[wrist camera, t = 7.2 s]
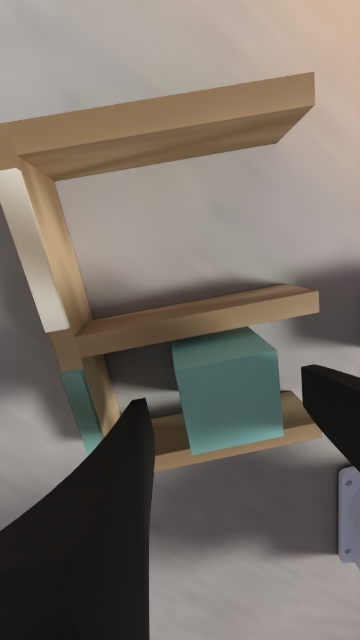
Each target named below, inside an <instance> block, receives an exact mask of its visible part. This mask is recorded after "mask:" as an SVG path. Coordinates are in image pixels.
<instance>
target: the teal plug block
mask: <svg viewBox="0 0 360 640" xmlns="http://www.w3.org/2000/svg"><path fill="white" fill-rule="evenodd" d="M171 344H172V353H173V362H174V371H175V376H176V380H177V385H178V390H179V395H180V400H181V405H182V410H183V414H184V419H185V424H186V429H187V434H188V439H189V444H190V448H191V453H192V455H196V454H200V453H205V452H210V451H215V450H220V449H224V448H229V447H234V446H239V445H244V444H248V443H253V442H258V441H263V440H267V439H272V438H277V437H282V436H284V432H283V419H282V406H281V394H280V381H279V368H278V355H277V350H276V349H275V348H274V347H272V346H271V345H270V344H269V343H267V342H266V341H265V340H264V339H262V338H261V337H260V336H259V335H257V334H256V333H255V332H254V331H252V330H251V329H250V328H249V327H247V326H245V327H240V328H235V329H230V330H225V331H219V332H214V333H209V334H204V335H199V336H193V337H188V338H183V339H178V340H173V341H171Z"/></svg>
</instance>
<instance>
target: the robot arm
mask: <svg viewBox="0 0 360 640" xmlns="http://www.w3.org/2000/svg"><path fill="white" fill-rule="evenodd" d="M301 377H302V398H303V407H304V408H305V410H306V411H307V413H308V414H309V415H310V417H311V418H312V420H313V421H314V422H315V424H316V425H317V426H318V427H319V429H320V430H321V431H322V432H323V433H324V434H325V435H326V436H327V437H328V439H329V440H330V441H331V442H332V443H333V444H334V445H335V446H336V447H337V448H338V450H339V451H340V452H341V453H342V454H343V455H344V456H345V457H346V458H347V459H348V460H349V462H350V463H351V464H352V465H353V467H348V468H344V469H342V470H341V471H340V472H339V558H340V560H341V562H342V563H344V564H349V563H353V562H355V564H356V565H357V567H358V568H359V570H360V378H359V377H356V376H353V375H350V374H346V373H343V372H340V371H337V370H334V369H330V368H327V367H323V366H319V365H309V366H304V367H301ZM154 466H155V435H154V431H153V427H152V423H151V419H150V415H149V410H148V406H147V402H146V398H141V399H136V400H132V401H131V402H130V404H129V405H128V406H127V408H126V409H125V411H124V412H123V413H122V415H121V416H120V418H119V419H118V420H117V422H116V423H115V424H114V426H113V427H112V428H111V430H110V431H109V432H108V433H107V435H106V436H105V437H104V438H103V439H102V441H101V442H100V443H99V444H98V445H97V447H96V448H95V449H94V450H93V451H92V452H91V454H90V455H89V456H88V457H87V458H86V459H85V460H84V461H83V462H82V463H81V464H80V465H79V466H78V467H77V468H76V469H75V470H74V471H73V472H72V473H71V474H70V475H69V476H68V477H66V478H65V479H64V480H63V481H62V482H61V483H60V484H59V485H57V486H56V487H55V488H54V489H53V490H52V491H51V492H50V493H49V494H47V495H46V496H45V497H44V498H43V499H41V500H40V501H39V502H38V503H36V504H35V505H34V506H33V507H32V508H30V509H29V510H28V511H26V512H25V513H24V514H22V515H21V516H20V517H19V518H17V519H16V520H15V521H13V522H12V523H11V524H9V525H8V526H7V527H5V528H4V529H2V530H1V531H0V640H149V523H150V509H151V499H152V488H153V477H154Z"/></svg>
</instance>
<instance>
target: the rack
mask: <svg viewBox="0 0 360 640" xmlns="http://www.w3.org/2000/svg"><path fill="white" fill-rule="evenodd" d="M314 105H315V85H314V72H310V73H304V74H298V75H292V76H286V77H279V78H273V79H267V80H261V81H255V82H249V83H243V84H237V85H231V86H225V87H219V88H213V89H207V90H201V91H195V92H189V93H183V94H176V95H170V96H164V97H158V98H152V99H146V100H140V101H134V102H128V103H122V104H116V105H110V106H104V107H98V108H92V109H86V110H80V111H73V112H67V113H61V114H55V115H49V116H43V117H37V118H31V119H25V120H19V121H13V122H7V123H1V124H0V203H1V206H2V208H3V211H4V214H5V217H6V220H7V223H8V226H9V229H10V232H11V235H12V237H13V240H14V243H15V246H16V249H17V252H18V255H19V258H20V261H21V263H22V266H23V269H24V272H25V275H26V278H27V281H28V284H29V287H30V290H31V292H32V295H33V298H34V301H35V304H36V307H37V310H38V313H39V316H40V319H41V321H42V324H43V327H44V330H45V333H47V332H48V334H49V336H50V339H51V342H52V345H53V348H54V351H55V354H56V357H57V360H58V363H59V366H60V369H61V372H62V374H61V375H60V376H61V379H62V382H63V385H64V388H65V391H66V394H67V397H68V400H69V403H70V405H71V408H72V411H73V414H74V417H75V420H76V423H77V426H78V429H79V432H80V434H81V437H82V440H83V443H84V446H85V449H86V452H87V455H88V456H89V455H90V454H91V452H92V451H93V450H94V449H95V448H96V447H97V445H98V444H99V443H100V442H101V441H102V439H103V438H104V437H105V436H106V435H107V433H108V432H109V431H110V430H111V428H112V427H113V426H114V424H115V423H116V422H117V420H118V419H119V418H120V416H121V415H120V412H119V408H118V405H117V401H116V398H115V394H114V391H113V387H112V384H111V380H110V376H109V373H108V369H107V366H106V362H105V359H104V355H103V354H105V353H111V352H116V351H121V350H126V349H131V348H136V347H142V346H147V345H152V344H157V343H162V342H168V341H173V340H178V339H183V338H188V337H193V336H199V335H204V334H209V333H214V332H219V331H225V330H230V329H235V328H240V327H245V326H251V325H256V324H261V323H266V322H271V321H276V320H282V319H287V318H292V317H297V316H302V315H308V314H313V313H318V312H319V291H317V290H312V289H308V288H303V287H298V286H293V285H289V284H281V285H276V286H271V287H265V288H260V289H255V290H249V291H244V292H239V293H234V294H228V295H223V296H218V297H212V298H207V299H202V300H197V301H191V302H186V303H181V304H175V305H170V306H165V307H159V308H154V309H149V310H144V311H138V312H133V313H128V314H122V315H117V316H112V317H106V318H101V319H96V320H93V317H92V313H91V310H90V306H89V303H88V299H87V296H86V292H85V288H84V285H83V281H82V278H81V274H80V271H79V267H78V264H77V260H76V257H75V253H74V250H73V246H72V243H71V239H70V236H69V232H68V229H67V225H66V222H65V218H64V215H63V211H62V207H61V204H60V200H59V197H58V193H57V190H56V186H55V183H54V181H59V180H65V179H71V178H77V177H82V176H88V175H94V174H100V173H106V172H111V171H117V170H123V169H129V168H135V167H140V166H146V165H152V164H158V163H164V162H169V161H175V160H181V159H187V158H193V157H198V156H204V155H210V154H216V153H222V152H227V151H233V150H239V149H245V148H250V147H256V146H262V145H268V144H274V143H277V142H278V141H279V140H280V139H281V138H282V137H283V136H284V135H285V134H286V133H287V132H288V131H289V130H290V129H291V128H292V127H293V126H294V125H295V124H296V123H297V122H298V121H299V120H300V119H301V118H302V117H303V116H304V115H305V114H306V113H307V112H308V111H309V110H310V109H311V108H312V107H313V106H314ZM280 394H281V406H282V419H283V432H284V436H282V437H277V438H272V439H267V440H263V441H258V442H253V443H248V444H244V445H239V446H234V447H229V448H224V449H220V450H215V451H210V452H205V453H200V454H196V455H192V453H191V448H190V444H189V439H188V434H187V429H186V424H185V419H184V414H183V413H179V414H174V415H169V416H164V417H159V418H154V419H151V423H152V427H153V431H154V435H155V466H154V472H158V471H163V470H167V469H172V468H177V467H182V466H187V465H192V464H196V463H201V462H206V461H211V460H216V459H220V458H225V457H230V456H235V455H240V454H245V453H249V452H254V451H259V450H264V449H269V448H274V447H278V446H283V445H288V444H293V443H298V442H303V441H307V440H312V439H317V438H322V431H321V430H320V429H319V427H318V426H317V425H316V424H315V422H314V421H313V420H312V418H311V417H310V415H309V414H308V413H307V411H306V410H305V408H304V407H303V402H302V401H301V400H300V399H299V398H298V397H297V396H296V395H295V394H294V393H293V392H292V391H288V392H283V393H280Z"/></svg>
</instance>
